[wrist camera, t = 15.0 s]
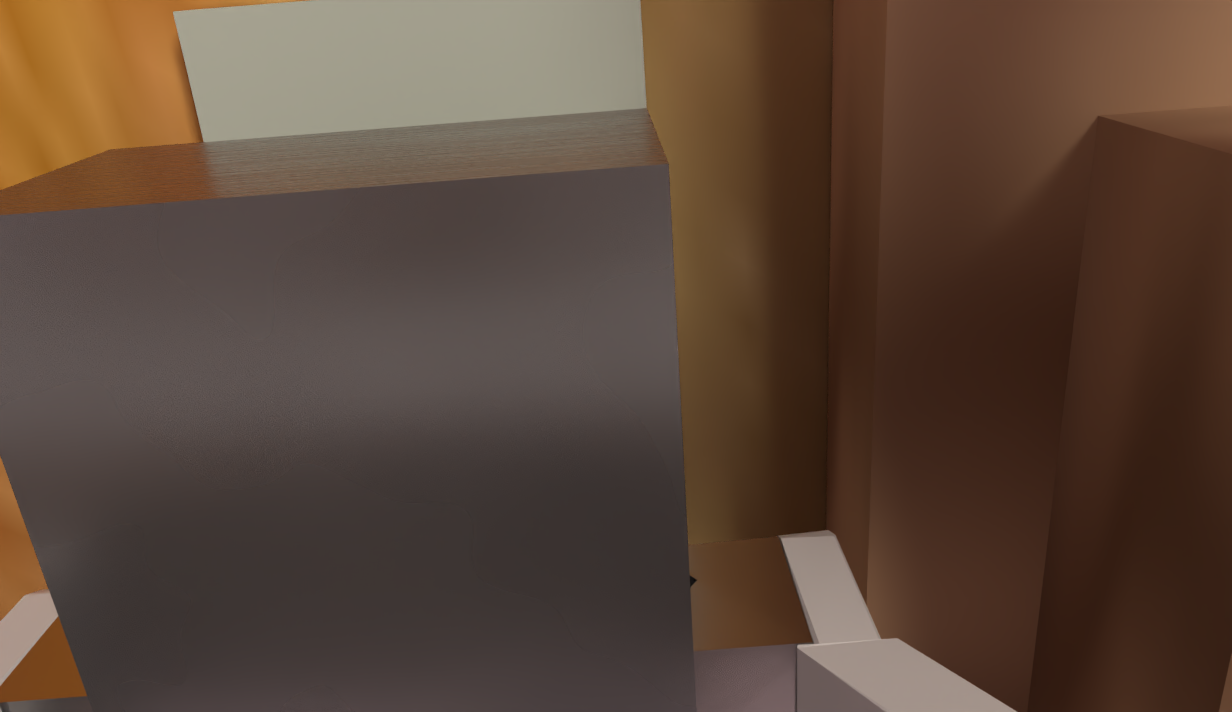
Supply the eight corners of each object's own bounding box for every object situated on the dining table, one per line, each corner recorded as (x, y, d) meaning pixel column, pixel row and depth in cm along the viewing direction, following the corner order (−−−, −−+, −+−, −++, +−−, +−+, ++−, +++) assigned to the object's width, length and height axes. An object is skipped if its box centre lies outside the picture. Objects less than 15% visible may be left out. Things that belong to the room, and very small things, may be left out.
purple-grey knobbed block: (692, 889, 11) (724, 1182, 8) (320, 917, 11) (233, 1217, 8) (646, 106, 8) (676, 181, 5) (111, 149, 8) (-146, 243, 5)
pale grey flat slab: (683, 759, 14) (686, 781, 14) (366, 783, 14) (360, 805, 14) (636, -26, 10) (638, -26, 10) (188, 10, 10) (173, 11, 10)
